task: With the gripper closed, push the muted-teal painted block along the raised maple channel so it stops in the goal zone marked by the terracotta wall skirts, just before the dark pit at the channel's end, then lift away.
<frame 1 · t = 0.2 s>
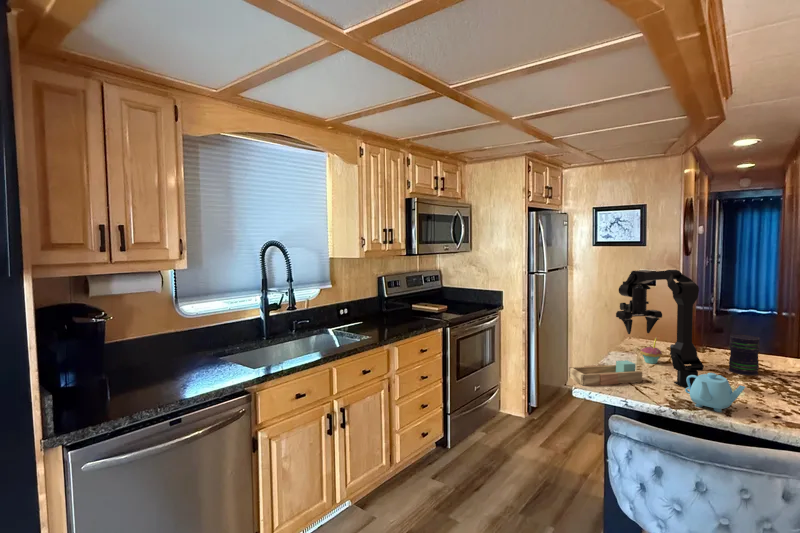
hand: (638, 333, 193), 14 cm above the counter, fingers open, 9 cm apart
cupcake: (650, 362, 198), on the counter
storage jar: (743, 372, 183), on the counter
block: (625, 374, 177), point 1 cm above the counter, touching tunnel
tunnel: (605, 379, 176), on the counter
teapot: (713, 407, 146), on the counter
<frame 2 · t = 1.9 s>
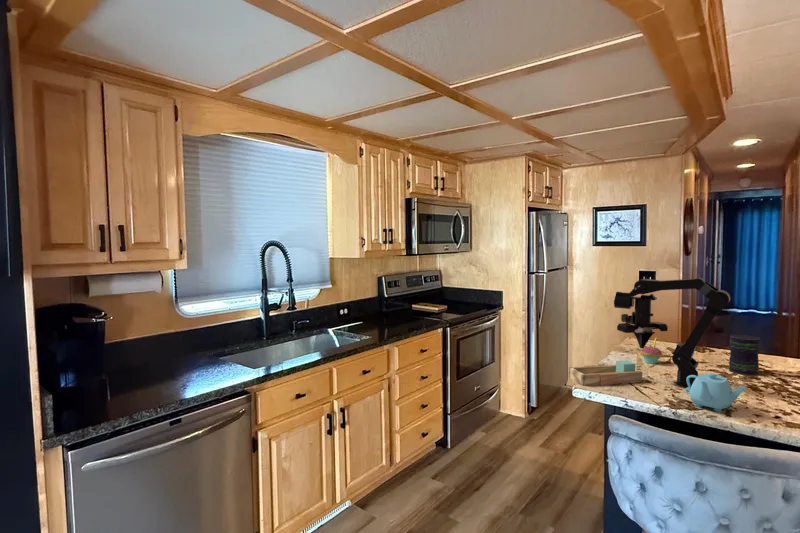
hand: (641, 348, 177), 12 cm above the counter, fingers closed
nothing on the counter moved.
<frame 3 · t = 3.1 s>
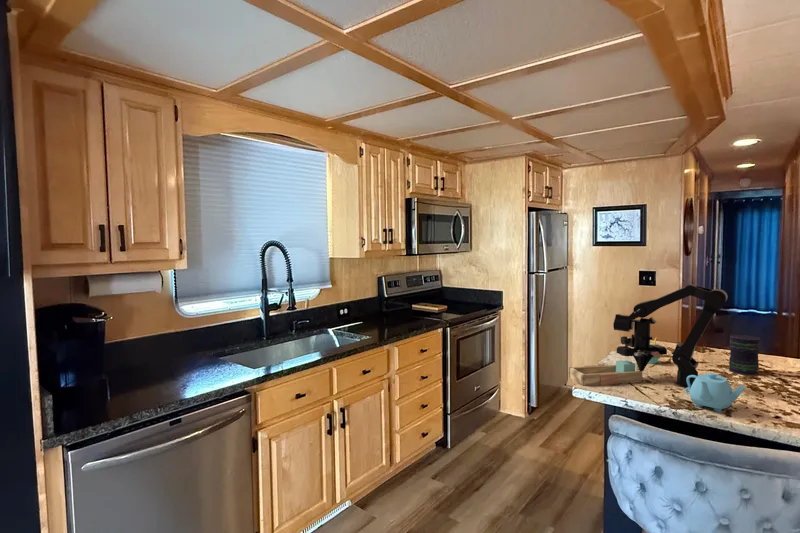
hand: (641, 371, 178), 3 cm above the counter, fingers closed
nothing on the counter moved.
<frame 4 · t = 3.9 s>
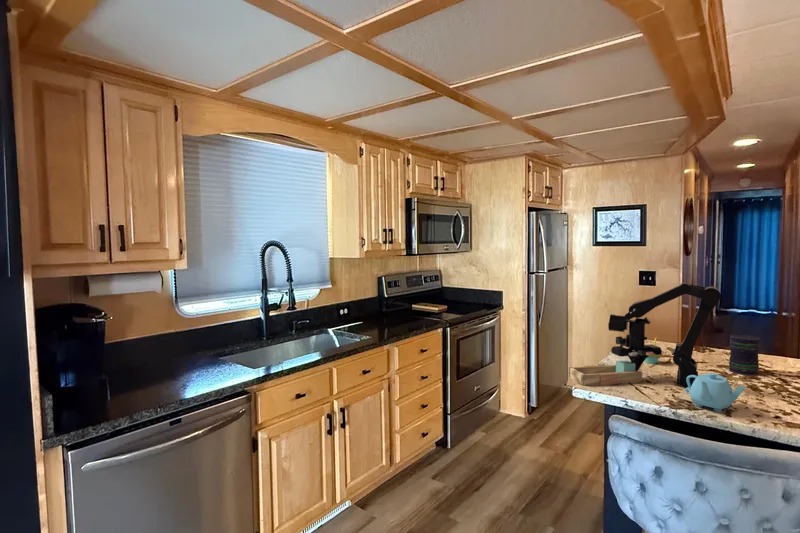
hand: (635, 371, 177), 3 cm above the counter, fingers closed
block: (625, 374, 177), point 2 cm above the counter, touching gripper, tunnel
everything else where it was.
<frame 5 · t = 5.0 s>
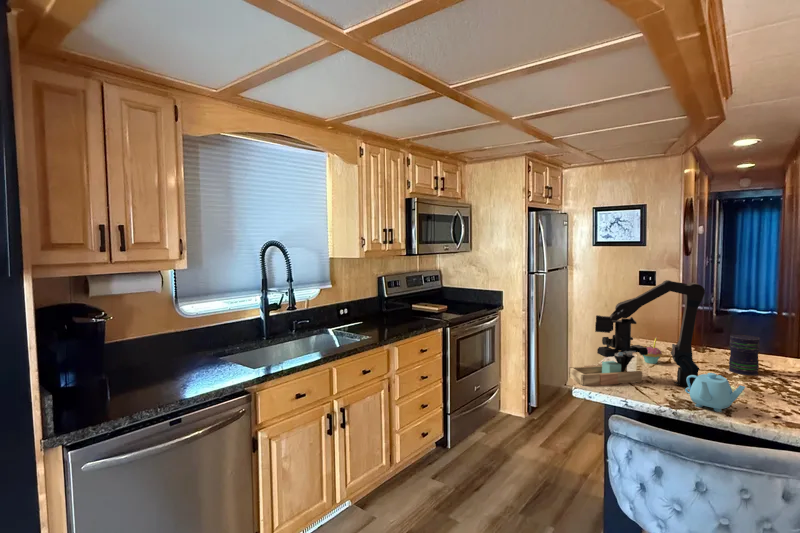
hand: (622, 371, 177), 3 cm above the counter, fingers closed
block: (611, 375, 176), point 1 cm above the counter, touching gripper, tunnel
everything else where it was.
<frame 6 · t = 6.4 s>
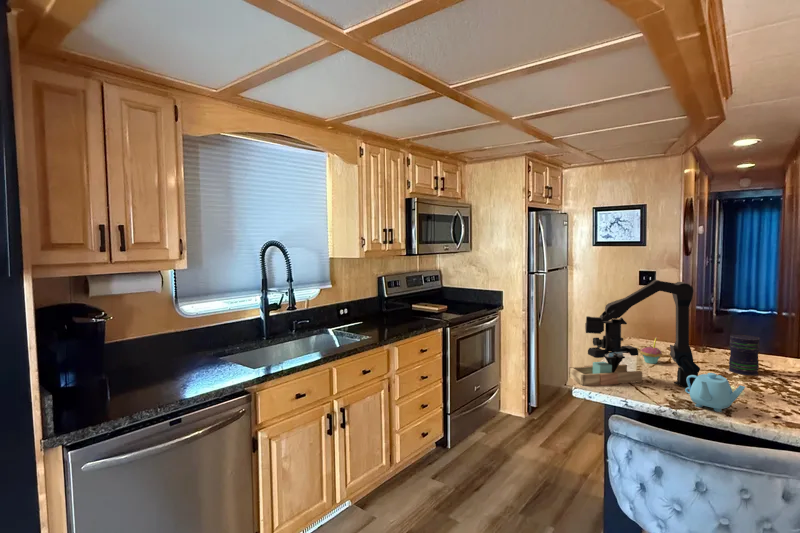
hand: (612, 372, 176), 3 cm above the counter, fingers closed
block: (601, 375, 175), point 1 cm above the counter, touching gripper, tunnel
everything else where it was.
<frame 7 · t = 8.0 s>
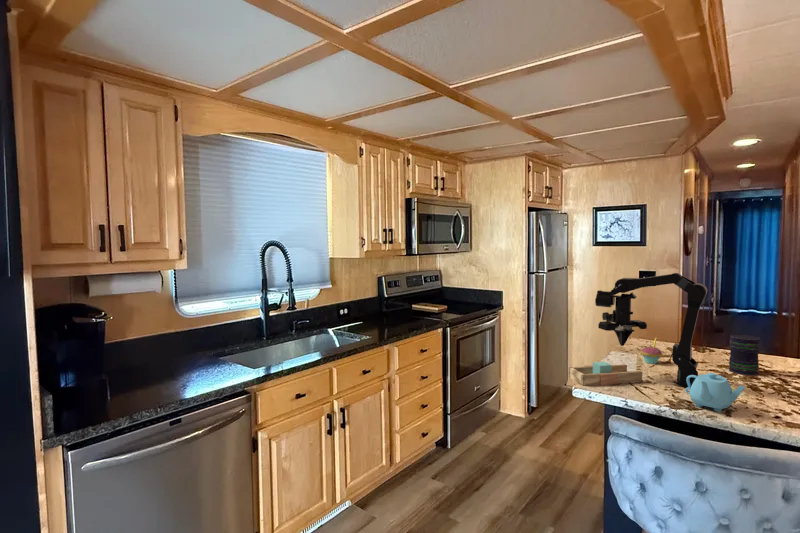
hand: (621, 345, 181), 12 cm above the counter, fingers closed
block: (601, 375, 175), point 1 cm above the counter, touching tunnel
everything else where it was.
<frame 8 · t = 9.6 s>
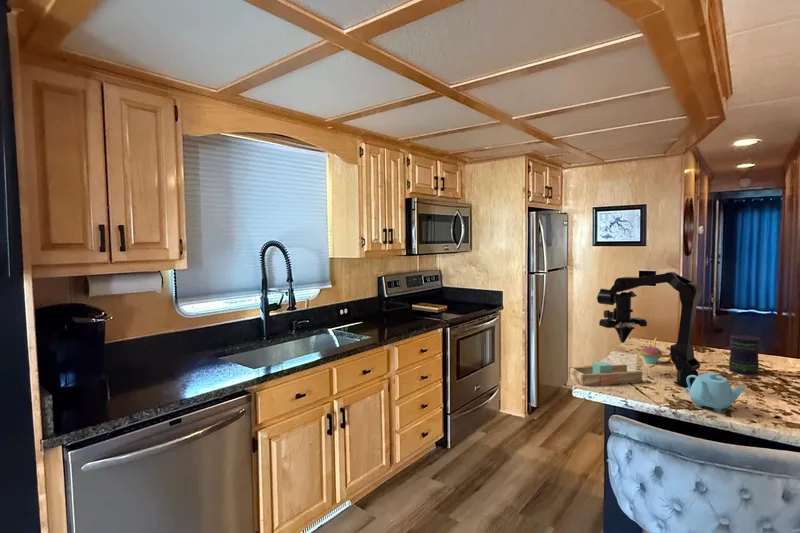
hand: (622, 342, 187), 12 cm above the counter, fingers closed
nothing on the counter moved.
at the end: block inside the target area (0.3 cm from its centre), point 1.5 cm above the counter; block tilted 0° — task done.
